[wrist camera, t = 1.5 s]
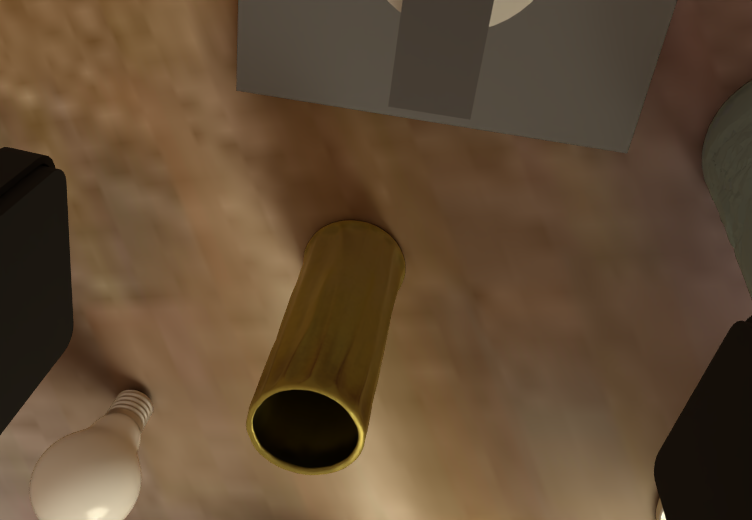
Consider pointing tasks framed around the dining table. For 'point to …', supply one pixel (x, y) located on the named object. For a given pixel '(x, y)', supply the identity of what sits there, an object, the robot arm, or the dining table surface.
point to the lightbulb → (94, 466)
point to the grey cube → (443, 52)
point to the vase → (328, 351)
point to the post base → (497, 73)
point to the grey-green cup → (733, 173)
